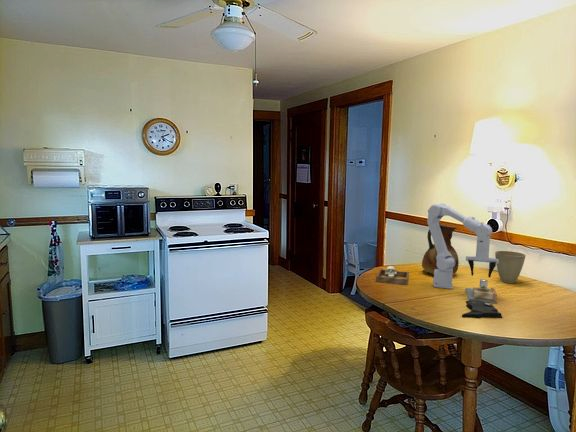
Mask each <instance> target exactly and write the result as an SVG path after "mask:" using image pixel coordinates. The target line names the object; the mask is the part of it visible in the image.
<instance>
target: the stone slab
mask: <svg viewBox="0 0 576 432" xmlns="http://www.w3.org/2000/svg"><path fill="white" fill-rule="evenodd" d="M465 303H466V306H465V307H467V308H468V309H469V310H471V311H469V312H464V313H463V314H461V317H463V318H465V319H467V318H468V319H485V318H492V319H503V314H502V313H501V312H499V311H498V309H497V308H496V307H495V306H494V305H493V303H487V302H483V301H480V300H466V301H465Z"/></svg>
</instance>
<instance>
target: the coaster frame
mask: <svg viewBox="0 0 576 432" xmlns="http://www.w3.org/2000/svg"><path fill="white" fill-rule="evenodd" d="M385 270H386V269H381V268H379V270H378V272H377V275H376V277H375V278H376V281H375V282H376V283H384V284H385V283H386V284H394V285H402V286H403V285H404V286H408V284H409V283H408V282H409V276H410V271H400V270H396V271H397V277H396V278H391V277H385Z"/></svg>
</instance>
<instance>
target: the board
mask: <svg viewBox="0 0 576 432" xmlns="http://www.w3.org/2000/svg"><path fill="white" fill-rule="evenodd" d="M490 289H491V290H492V292H493V300H489V299H480V298H474V296H473V287H465V289H464V290H465V294H466V297H467V301H469V300H480V301H483V302H485V303H489V304H497V298H498V293H497V291H496V289H495V288H493V287H490Z"/></svg>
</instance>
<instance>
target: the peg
mask: <svg viewBox="0 0 576 432" xmlns="http://www.w3.org/2000/svg"><path fill="white" fill-rule="evenodd" d="M479 288H487V289H488V279H485V278H481V279H479Z"/></svg>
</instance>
